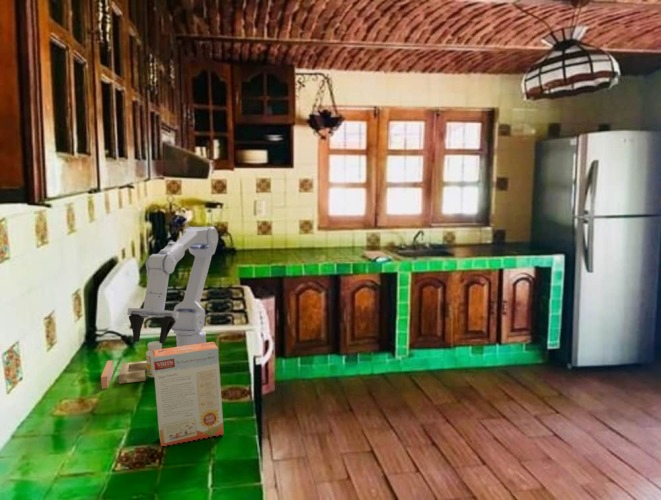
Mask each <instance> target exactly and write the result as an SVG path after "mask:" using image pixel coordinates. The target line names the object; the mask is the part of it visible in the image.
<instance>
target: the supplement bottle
mask: <svg viewBox="0 0 661 500" xmlns="http://www.w3.org/2000/svg"><path fill="white" fill-rule="evenodd" d="M162 347H163V344H161V343H159V341H158V340H157V341H150V342H147V349H148V350H147V351H146V352H145V361H146V362H147V371H146V372H147V374H146V375H147V376H148V377H149V378H154V366H153V354H152V351H153V350H157V349H163V348H162Z"/></svg>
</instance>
